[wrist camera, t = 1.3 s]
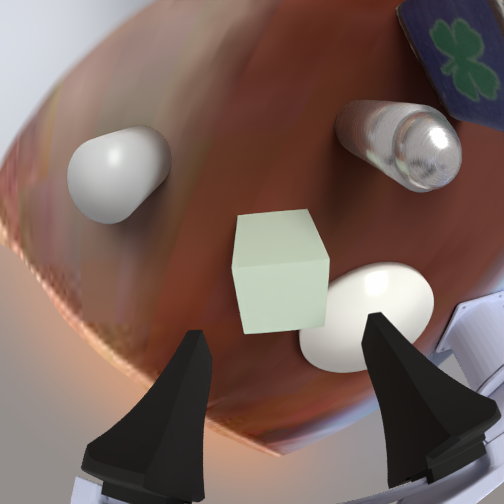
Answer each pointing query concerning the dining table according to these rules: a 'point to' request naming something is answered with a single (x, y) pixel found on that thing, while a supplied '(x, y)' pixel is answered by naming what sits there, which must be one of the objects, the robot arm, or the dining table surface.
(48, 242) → the dining table surface
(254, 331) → the sage block
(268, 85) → the dining table surface
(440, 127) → the salt shaker
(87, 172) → the white rounded domed part
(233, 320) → the dining table surface
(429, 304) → the plate
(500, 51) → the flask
